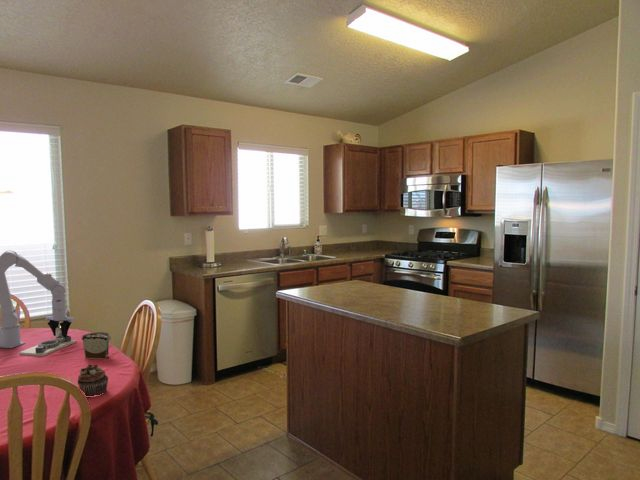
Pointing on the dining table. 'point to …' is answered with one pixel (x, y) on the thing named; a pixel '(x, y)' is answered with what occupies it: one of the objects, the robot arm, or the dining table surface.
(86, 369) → the cupcake
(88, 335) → the food container
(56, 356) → the dining table surface
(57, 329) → the coupler
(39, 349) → the shaft
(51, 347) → the shaft board
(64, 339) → the shaft
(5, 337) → the robot arm
